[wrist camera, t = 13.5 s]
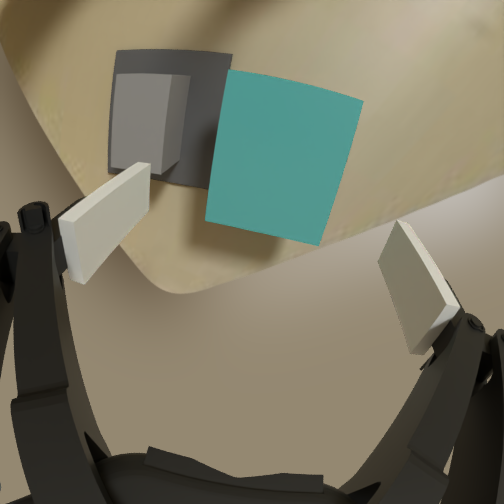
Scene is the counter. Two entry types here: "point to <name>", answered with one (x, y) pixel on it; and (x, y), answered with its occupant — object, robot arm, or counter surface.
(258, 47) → the counter surface
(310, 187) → the board
